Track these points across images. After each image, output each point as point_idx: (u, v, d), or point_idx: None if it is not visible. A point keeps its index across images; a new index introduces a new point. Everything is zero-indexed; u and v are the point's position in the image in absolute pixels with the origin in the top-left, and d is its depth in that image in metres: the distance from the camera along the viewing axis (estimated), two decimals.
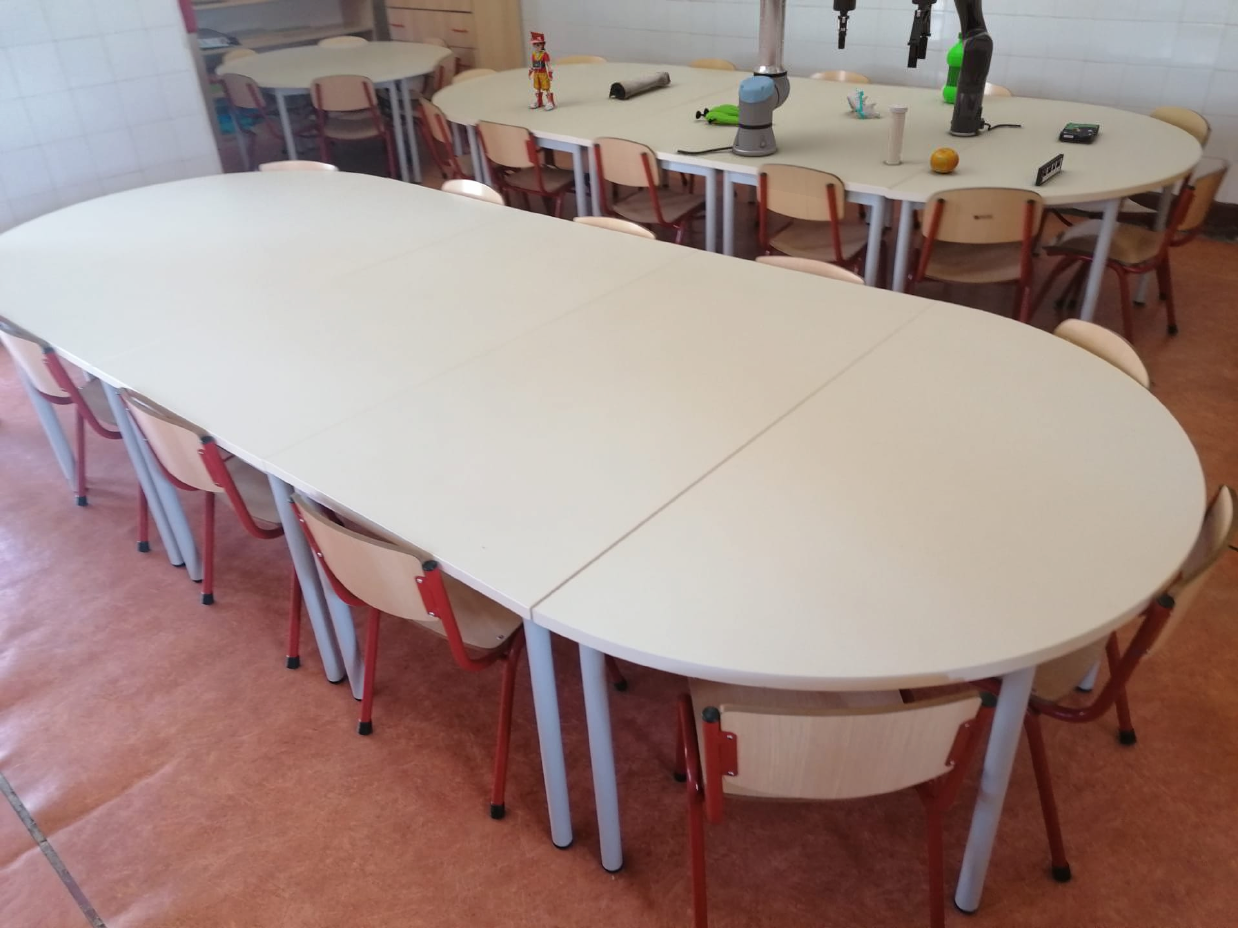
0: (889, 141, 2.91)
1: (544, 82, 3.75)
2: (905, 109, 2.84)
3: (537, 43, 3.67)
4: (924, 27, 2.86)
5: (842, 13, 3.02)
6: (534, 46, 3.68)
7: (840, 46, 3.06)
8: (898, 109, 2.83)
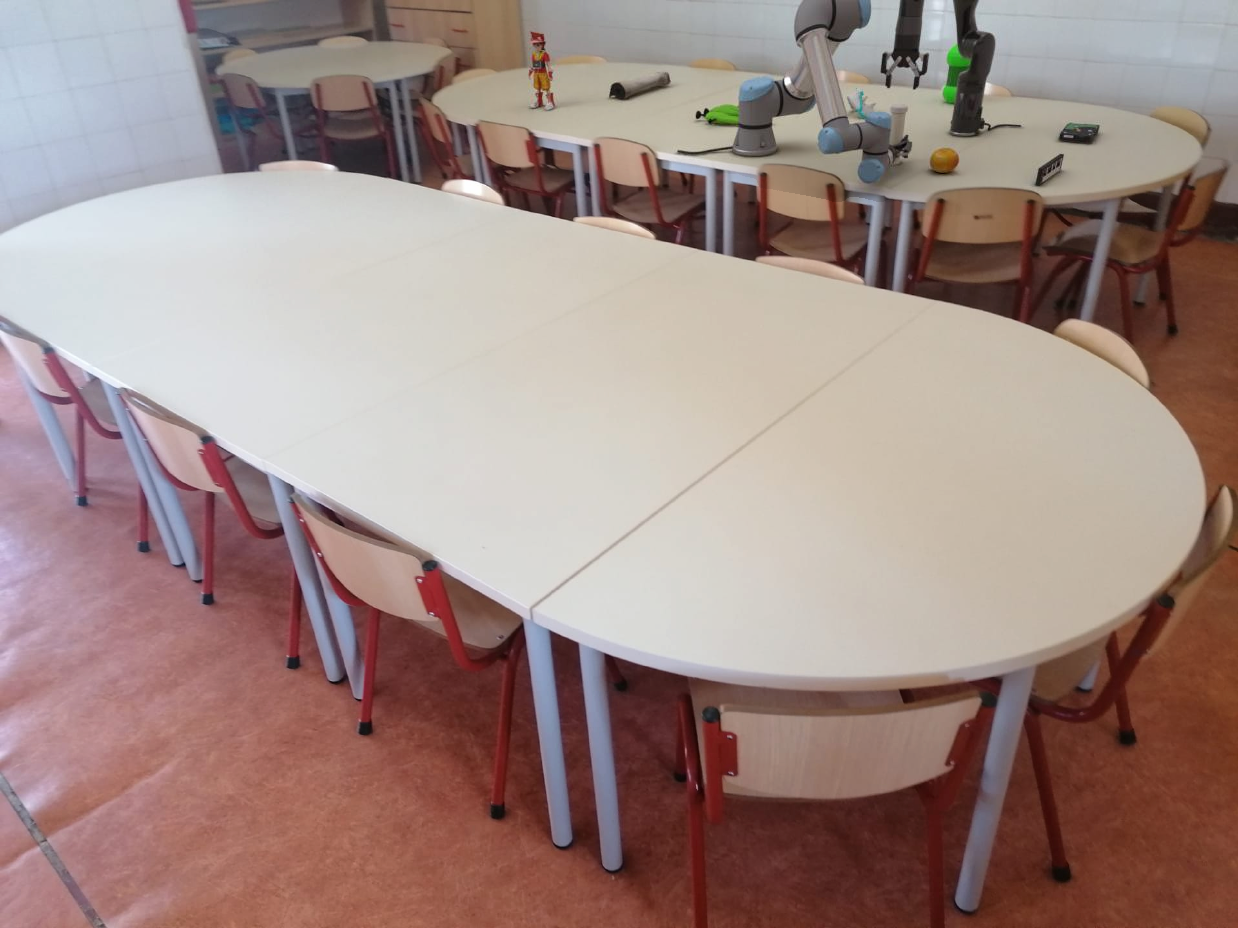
0: (889, 141, 2.91)
1: (544, 82, 3.75)
2: (905, 109, 2.84)
3: (537, 43, 3.67)
4: None
5: (917, 51, 2.74)
6: (534, 46, 3.68)
7: (917, 86, 2.79)
8: (898, 109, 2.83)
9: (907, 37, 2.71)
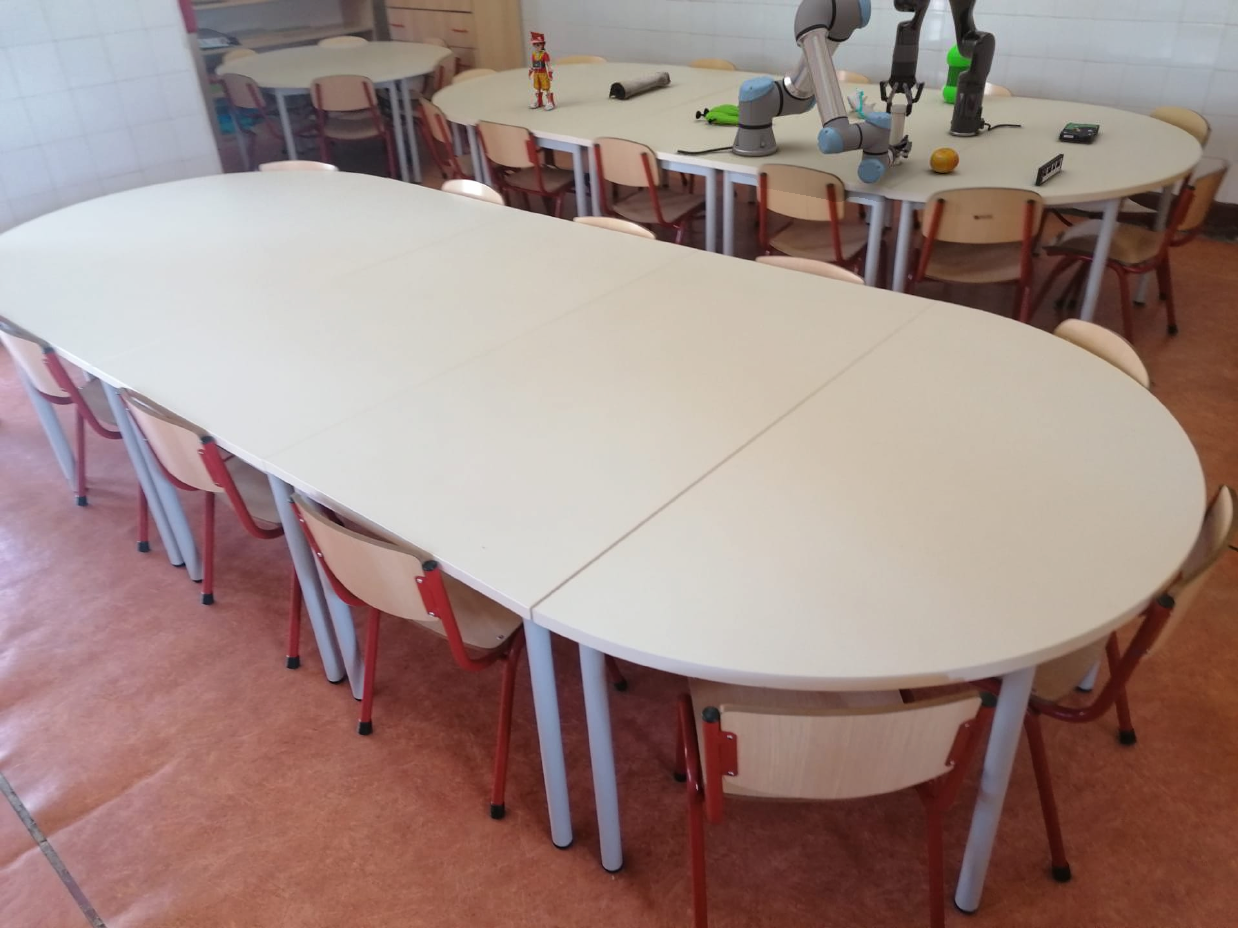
0: (889, 141, 2.91)
1: (544, 82, 3.75)
2: (905, 109, 2.84)
3: (537, 43, 3.67)
4: None
5: (914, 77, 2.78)
6: (534, 46, 3.68)
7: (910, 113, 2.85)
8: (898, 109, 2.83)
9: (904, 64, 2.75)
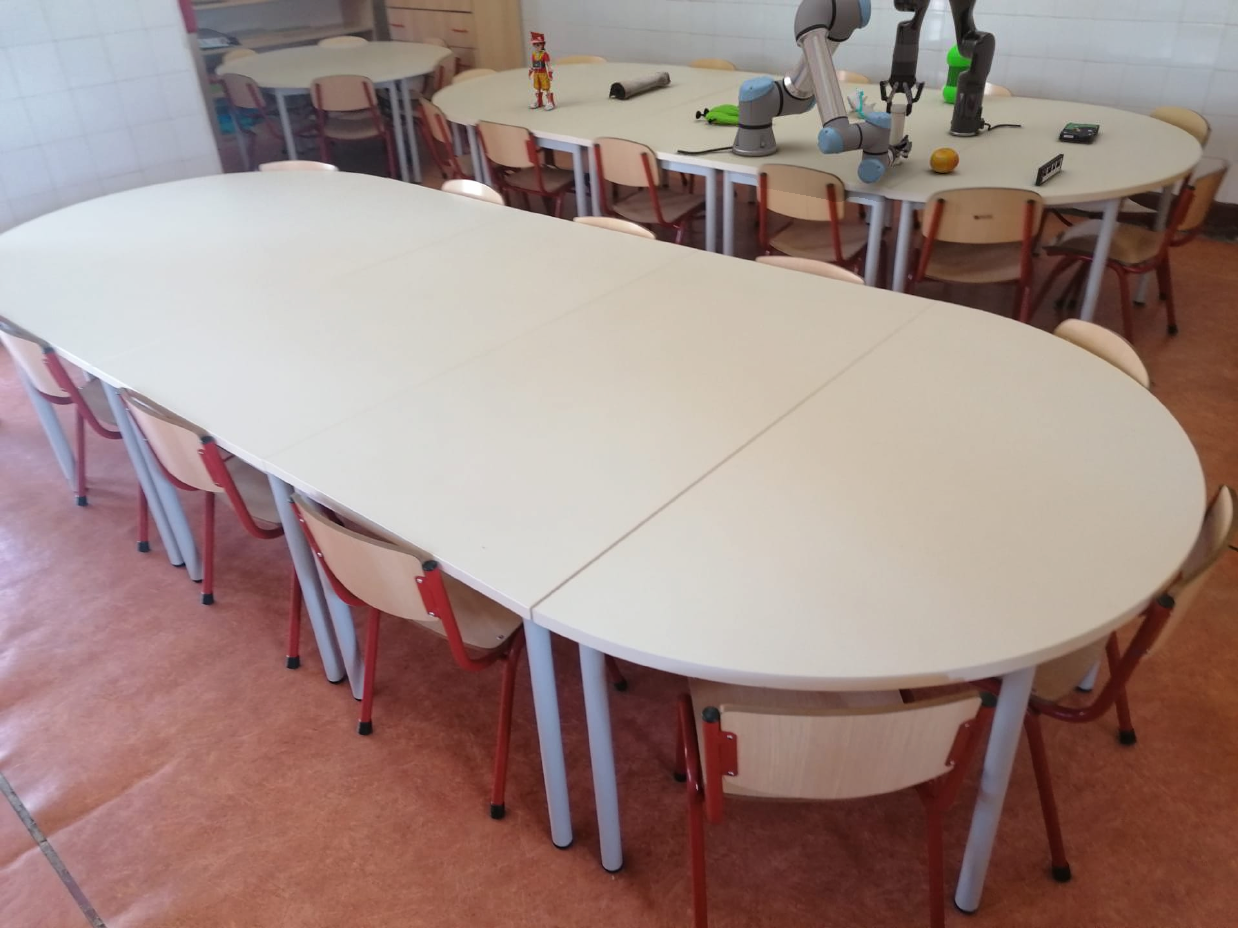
0: (889, 141, 2.91)
1: (544, 82, 3.75)
2: None
3: (537, 43, 3.67)
4: None
5: (914, 77, 2.78)
6: (534, 46, 3.68)
7: (910, 113, 2.85)
8: None
9: (904, 64, 2.75)
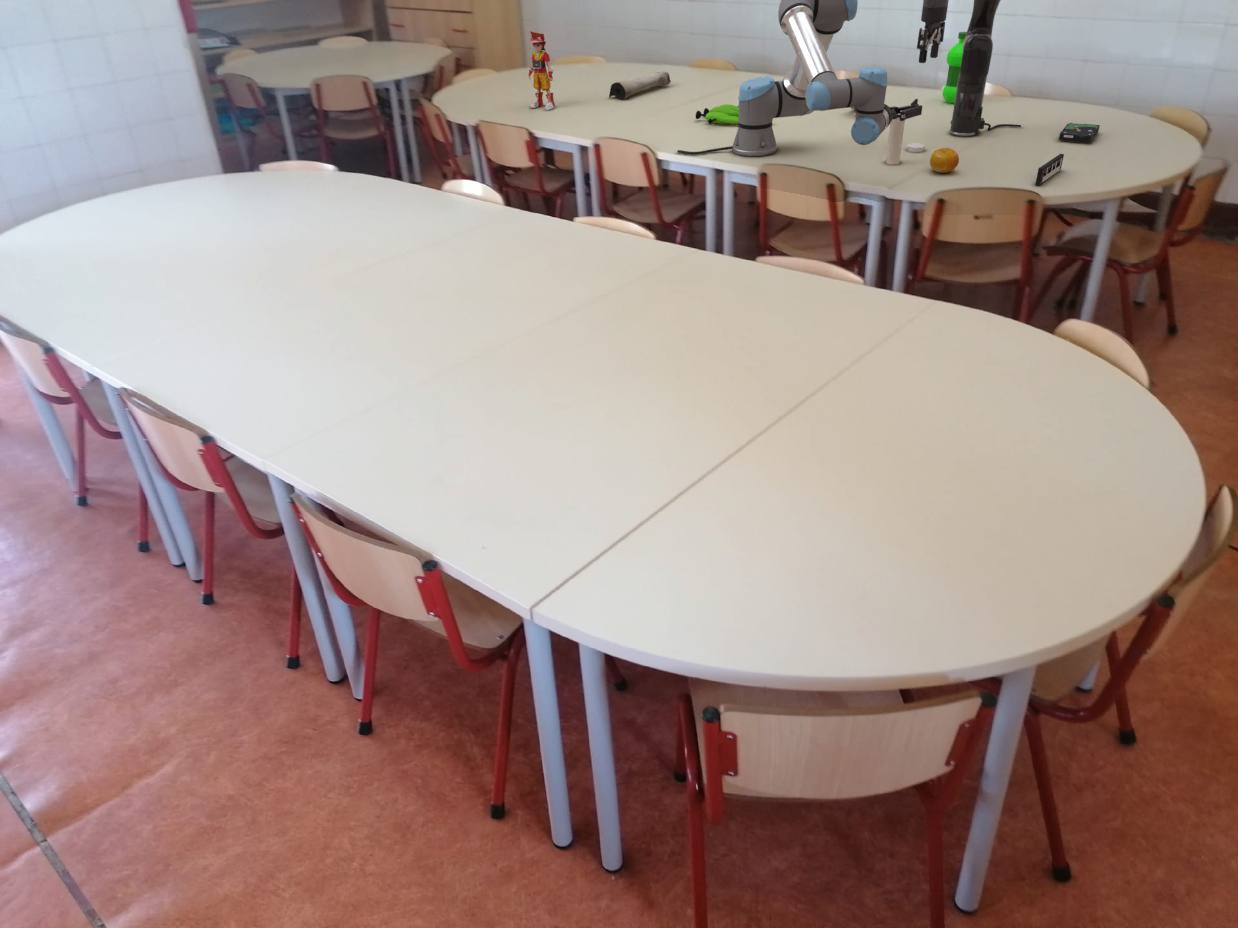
0: (889, 141, 2.91)
1: (544, 82, 3.75)
2: None
3: (537, 43, 3.67)
4: None
5: None
6: (534, 46, 3.68)
7: None
8: (923, 146, 3.04)
9: (946, 8, 2.79)
